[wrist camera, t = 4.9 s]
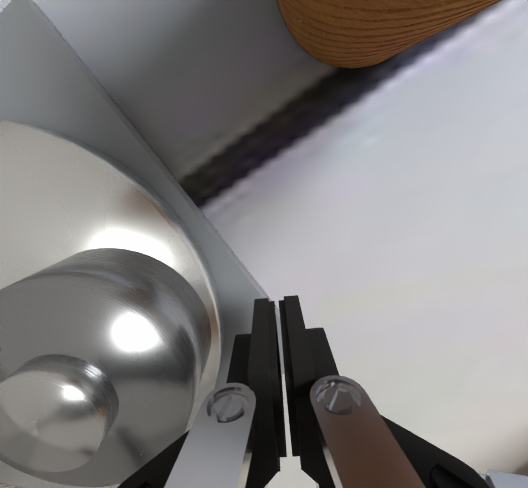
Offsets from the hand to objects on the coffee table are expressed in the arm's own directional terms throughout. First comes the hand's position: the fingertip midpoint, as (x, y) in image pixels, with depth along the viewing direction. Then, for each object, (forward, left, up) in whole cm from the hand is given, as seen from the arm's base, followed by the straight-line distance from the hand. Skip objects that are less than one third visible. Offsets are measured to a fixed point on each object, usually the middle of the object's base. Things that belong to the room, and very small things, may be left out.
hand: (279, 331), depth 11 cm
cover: (-6, +3, -1) cm, 7 cm away
